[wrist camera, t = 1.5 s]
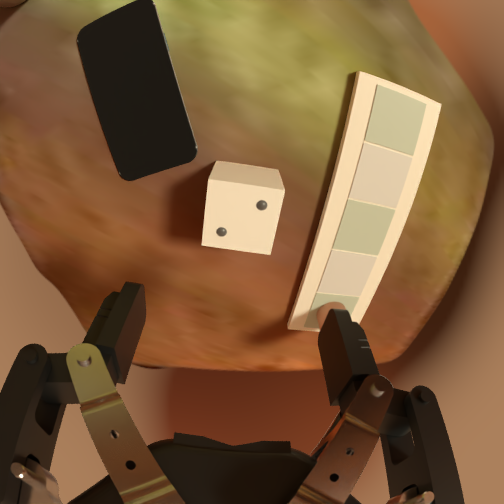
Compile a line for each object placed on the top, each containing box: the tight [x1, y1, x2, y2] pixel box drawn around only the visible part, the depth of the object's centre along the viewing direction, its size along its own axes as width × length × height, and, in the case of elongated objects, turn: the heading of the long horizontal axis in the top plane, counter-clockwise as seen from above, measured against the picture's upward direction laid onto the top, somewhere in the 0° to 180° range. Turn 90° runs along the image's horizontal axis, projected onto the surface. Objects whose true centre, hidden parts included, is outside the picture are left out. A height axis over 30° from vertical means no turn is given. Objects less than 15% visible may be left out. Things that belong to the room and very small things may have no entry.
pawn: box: [317, 302, 346, 330], centre depth 26 cm, size 3×3×9 cm
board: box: [287, 71, 441, 332], centre depth 25 cm, size 8×26×1 cm, turn 171°
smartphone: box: [77, 0, 198, 181], centre depth 19 cm, size 7×1×15 cm
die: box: [202, 161, 285, 255], centre depth 22 cm, size 5×5×5 cm
